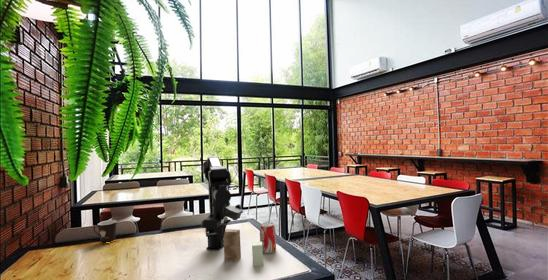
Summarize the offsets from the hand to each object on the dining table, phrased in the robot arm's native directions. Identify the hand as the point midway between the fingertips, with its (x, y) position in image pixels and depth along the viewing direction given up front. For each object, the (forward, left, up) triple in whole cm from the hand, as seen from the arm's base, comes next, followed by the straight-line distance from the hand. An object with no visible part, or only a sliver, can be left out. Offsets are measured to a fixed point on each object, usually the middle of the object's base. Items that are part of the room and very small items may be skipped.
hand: (221, 239), depth 111 cm
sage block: (+12, +7, -11) cm, 18 cm away
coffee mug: (-77, +18, -11) cm, 80 cm away
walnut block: (0, +9, -11) cm, 14 cm away
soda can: (+12, +20, -12) cm, 26 cm away
